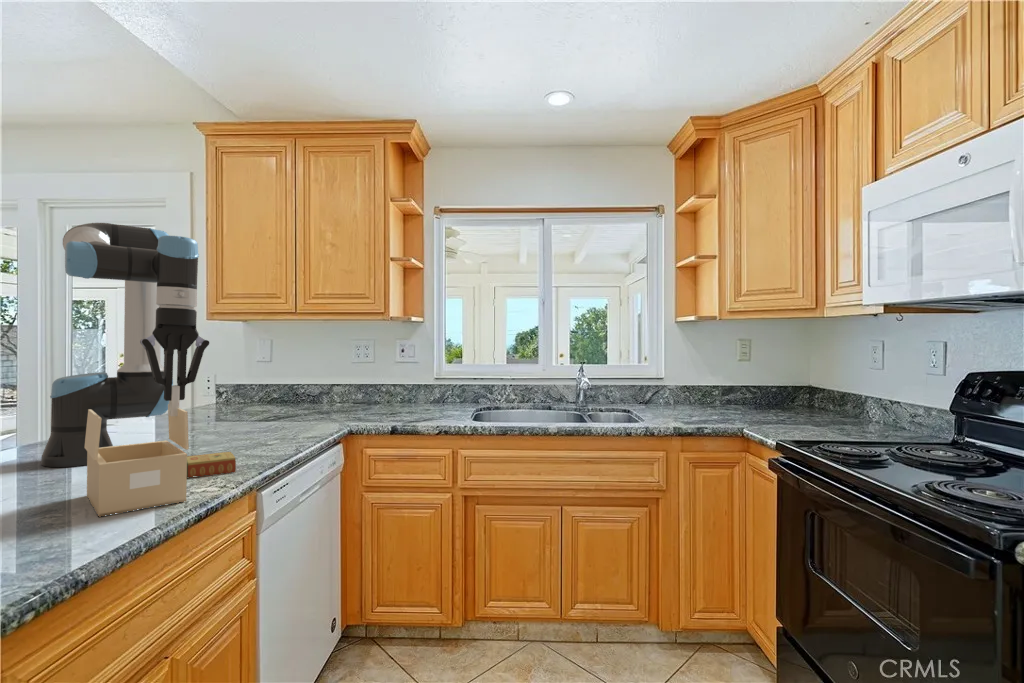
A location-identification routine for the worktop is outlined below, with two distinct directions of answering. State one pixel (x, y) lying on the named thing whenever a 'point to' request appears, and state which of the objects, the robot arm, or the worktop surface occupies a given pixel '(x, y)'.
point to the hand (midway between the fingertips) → (173, 415)
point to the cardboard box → (136, 477)
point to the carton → (210, 464)
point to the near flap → (93, 434)
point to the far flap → (179, 428)
